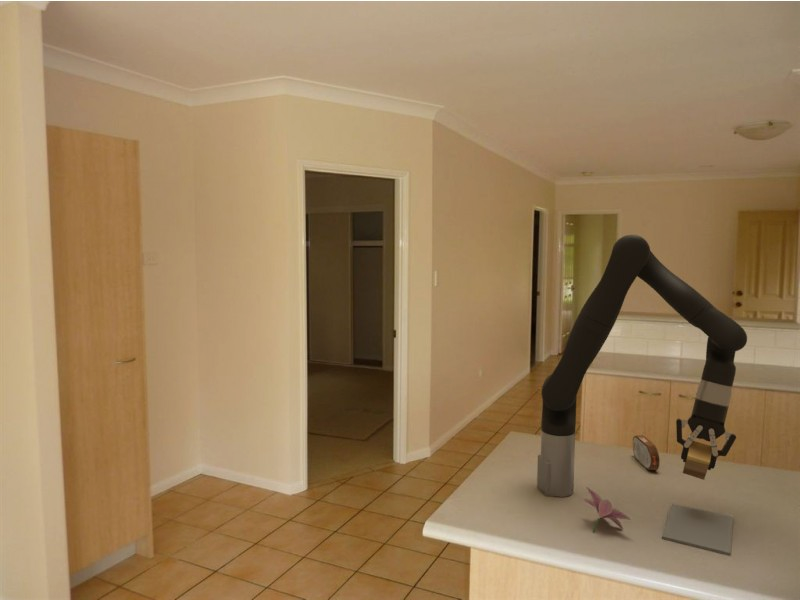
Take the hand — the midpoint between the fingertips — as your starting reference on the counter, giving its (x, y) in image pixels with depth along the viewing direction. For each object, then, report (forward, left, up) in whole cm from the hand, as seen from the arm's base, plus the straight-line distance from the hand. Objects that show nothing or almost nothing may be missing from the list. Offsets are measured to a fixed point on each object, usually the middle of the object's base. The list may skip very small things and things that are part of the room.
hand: (696, 465), depth 144 cm
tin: (+9, +33, -14) cm, 37 cm away
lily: (-26, -1, -14) cm, 29 cm away
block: (+2, +3, -2) cm, 5 cm away
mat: (-3, -6, -14) cm, 15 cm away
